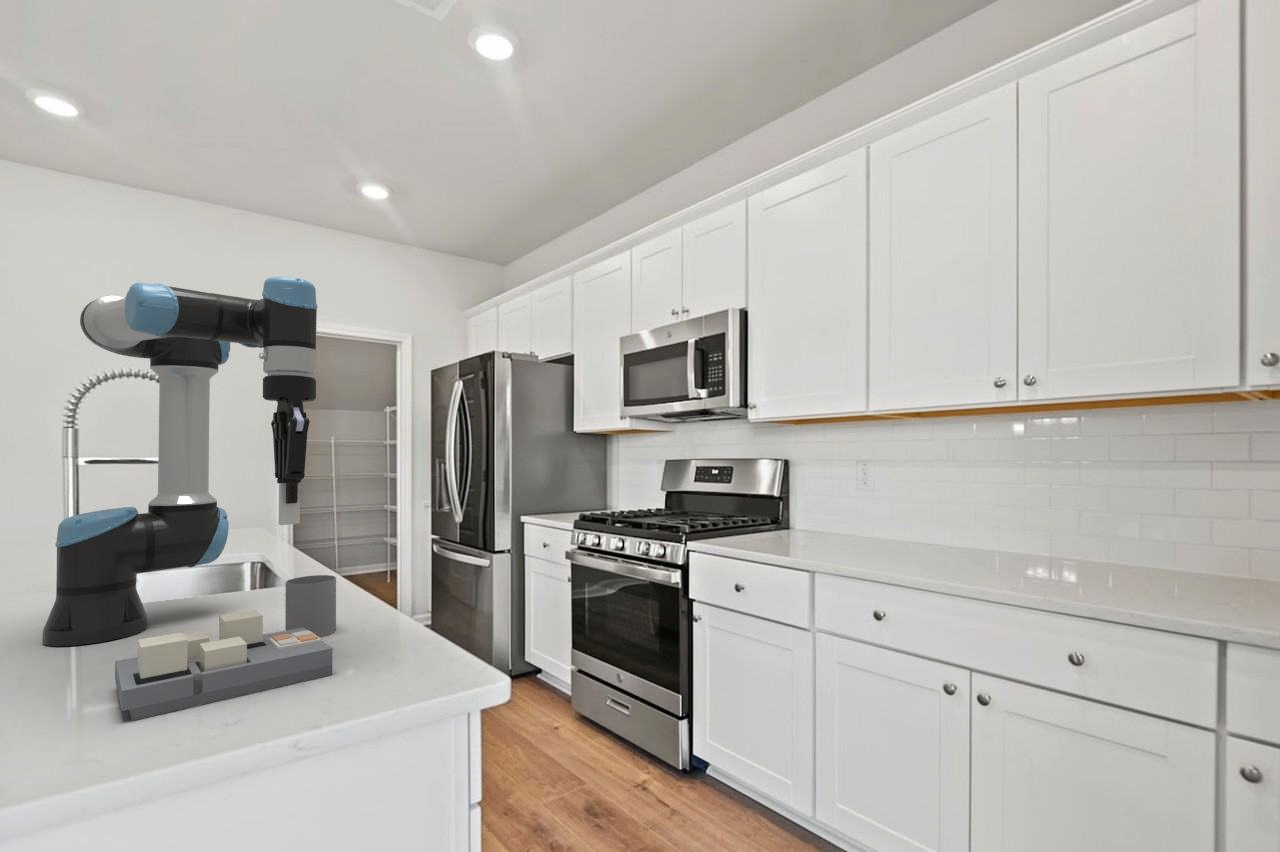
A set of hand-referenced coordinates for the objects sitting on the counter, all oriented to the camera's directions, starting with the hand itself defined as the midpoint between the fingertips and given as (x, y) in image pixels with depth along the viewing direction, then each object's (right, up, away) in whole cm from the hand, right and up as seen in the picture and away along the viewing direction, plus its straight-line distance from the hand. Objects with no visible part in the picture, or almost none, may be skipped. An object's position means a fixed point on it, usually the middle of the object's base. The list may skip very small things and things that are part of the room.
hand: (289, 523), depth 103 cm
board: (-5, -22, -7) cm, 24 cm away
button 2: (-11, -20, -7) cm, 24 cm away
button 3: (-4, -20, -10) cm, 23 cm away
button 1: (-9, -18, -15) cm, 25 cm away
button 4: (-6, -18, -2) cm, 19 cm away
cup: (-6, -23, +18) cm, 30 cm away
